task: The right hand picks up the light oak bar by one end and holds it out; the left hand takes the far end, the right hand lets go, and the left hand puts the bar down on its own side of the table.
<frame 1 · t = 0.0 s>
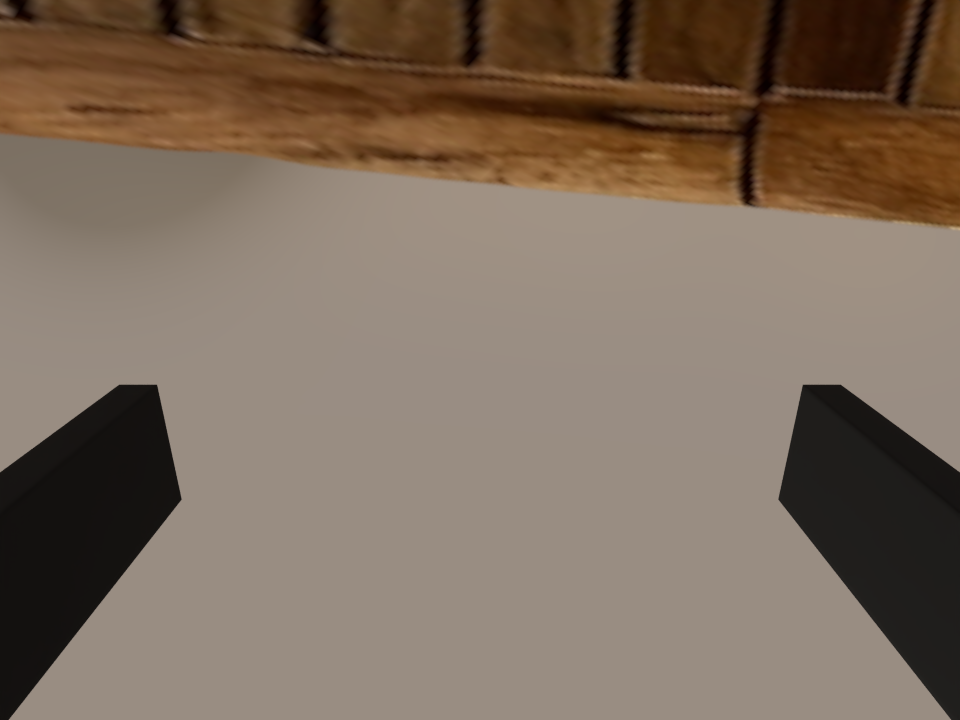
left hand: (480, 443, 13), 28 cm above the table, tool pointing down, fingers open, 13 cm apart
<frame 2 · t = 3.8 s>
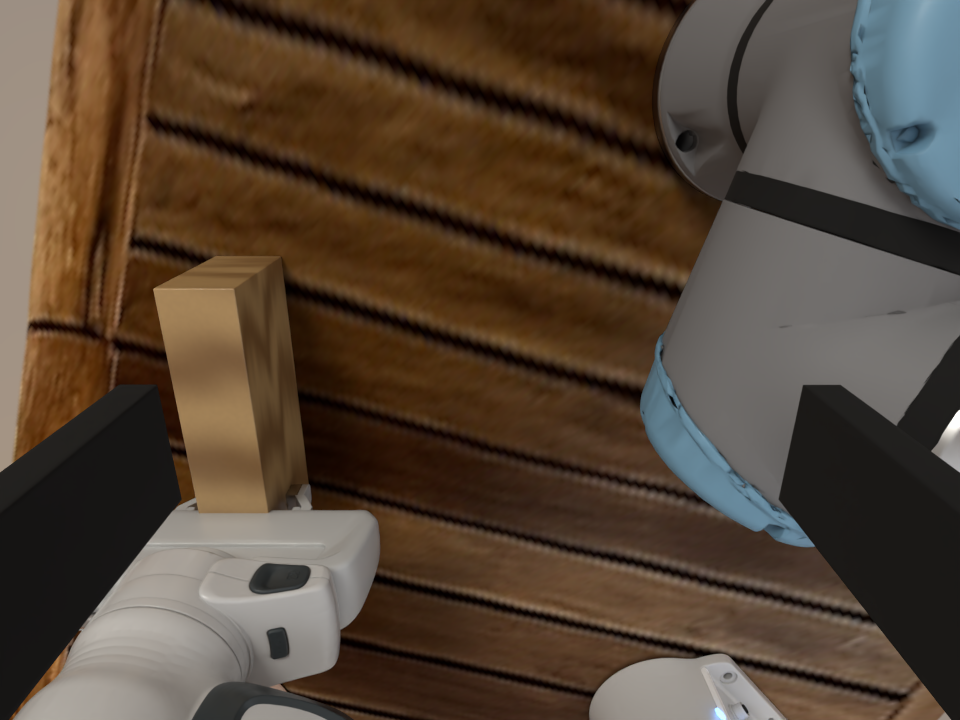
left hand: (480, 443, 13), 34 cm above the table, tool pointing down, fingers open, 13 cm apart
bar: (267, 391, 49), on the table, touching right hand
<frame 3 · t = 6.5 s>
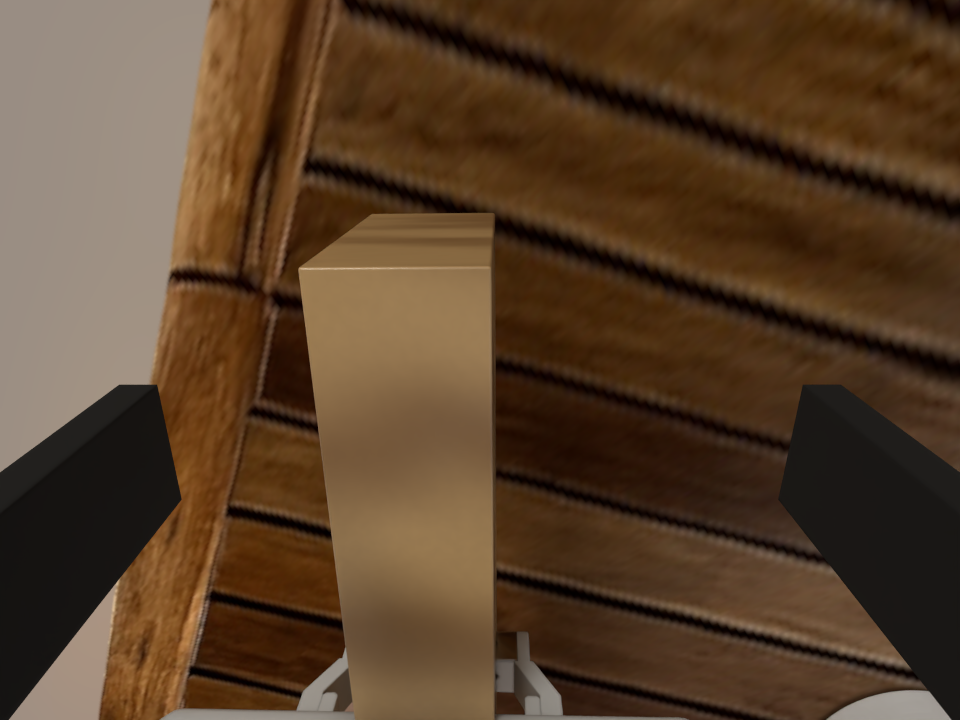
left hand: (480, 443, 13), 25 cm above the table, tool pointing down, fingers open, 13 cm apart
bar: (442, 459, 28), point 12 cm above the table, touching right hand
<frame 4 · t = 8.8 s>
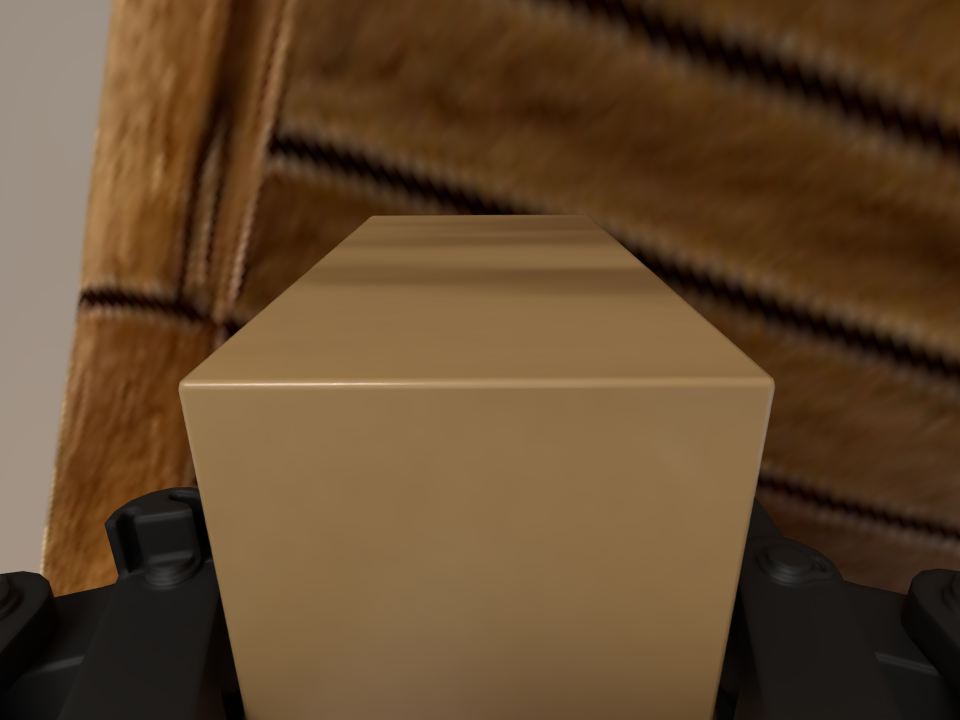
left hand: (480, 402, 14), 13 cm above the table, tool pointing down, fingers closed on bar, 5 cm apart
bar: (481, 604, 18), point 12 cm above the table, touching left hand, right hand
when the right hand's fingers open (16 cm above the table, at t = 9.6 s): bar stays where it is, held by the left hand.
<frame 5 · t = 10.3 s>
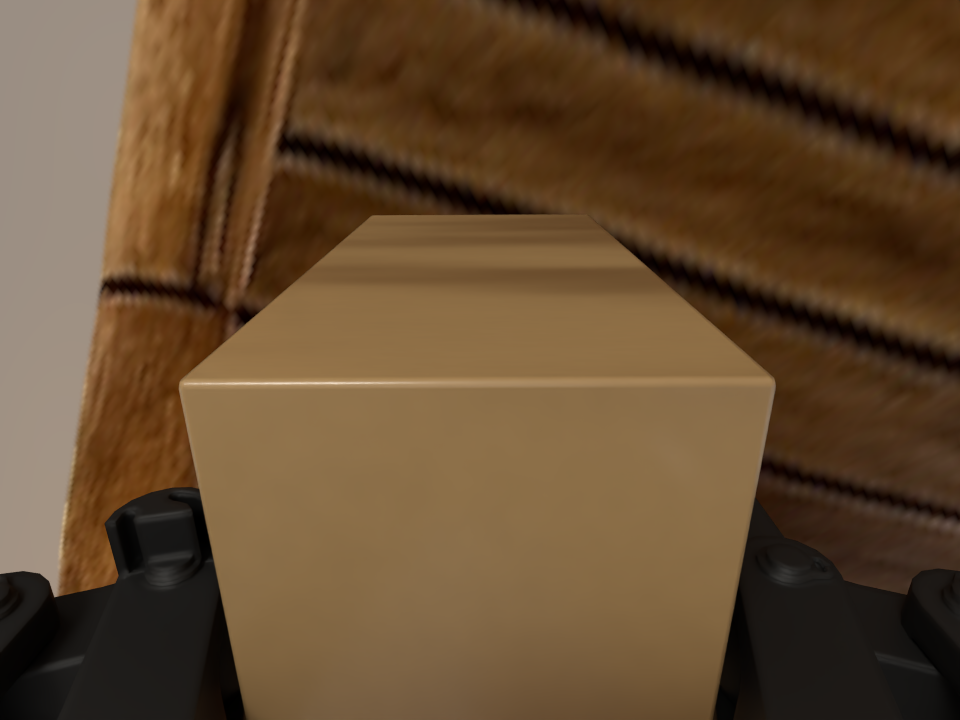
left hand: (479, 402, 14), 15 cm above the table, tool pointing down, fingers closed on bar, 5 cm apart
bar: (481, 603, 18), point 15 cm above the table, touching left hand
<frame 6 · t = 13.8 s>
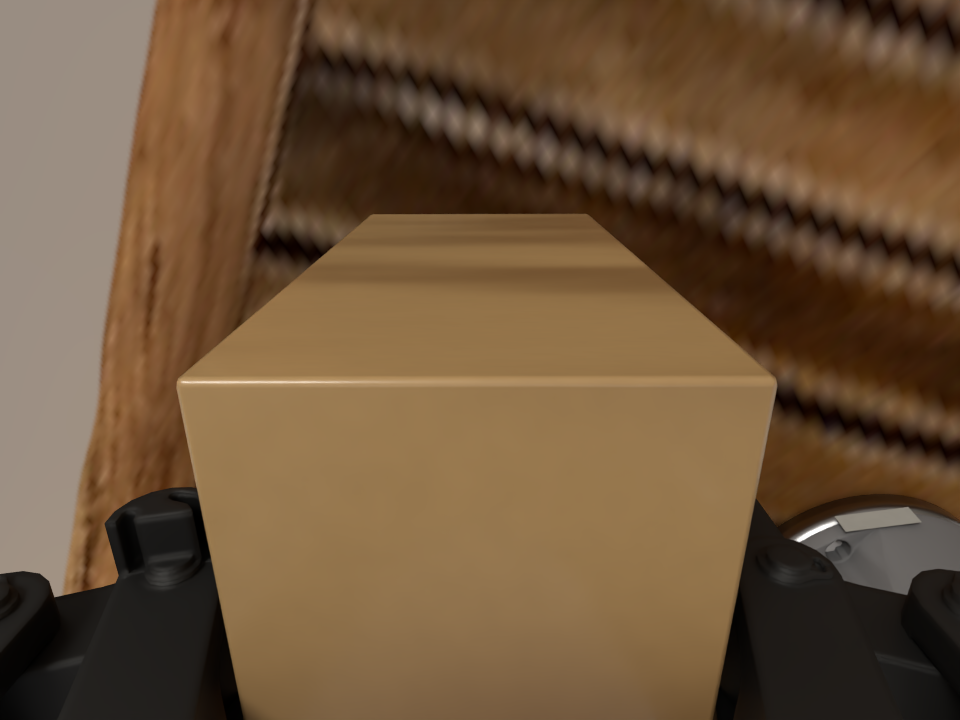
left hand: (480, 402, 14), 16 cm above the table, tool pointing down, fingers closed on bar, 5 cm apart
bar: (480, 604, 18), point 16 cm above the table, touching left hand
when the left hand's fingers open (2 cm above the table, at t = 18.9 s): bar drops 1 cm, on the table.
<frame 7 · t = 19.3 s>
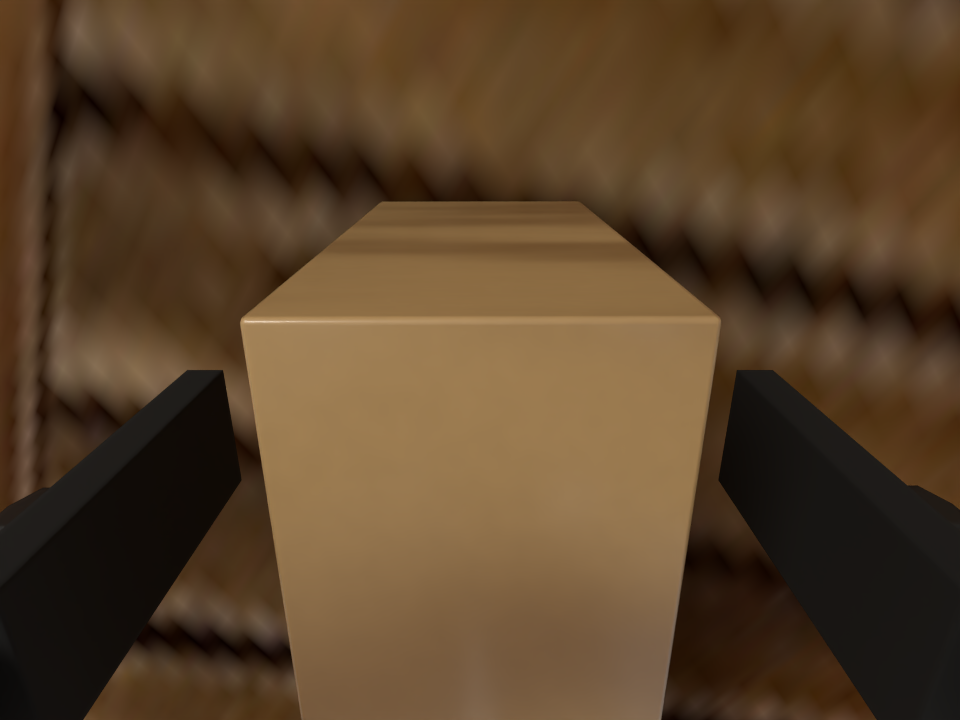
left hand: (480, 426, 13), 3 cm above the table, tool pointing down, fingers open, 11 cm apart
bar: (480, 568, 19), on the table
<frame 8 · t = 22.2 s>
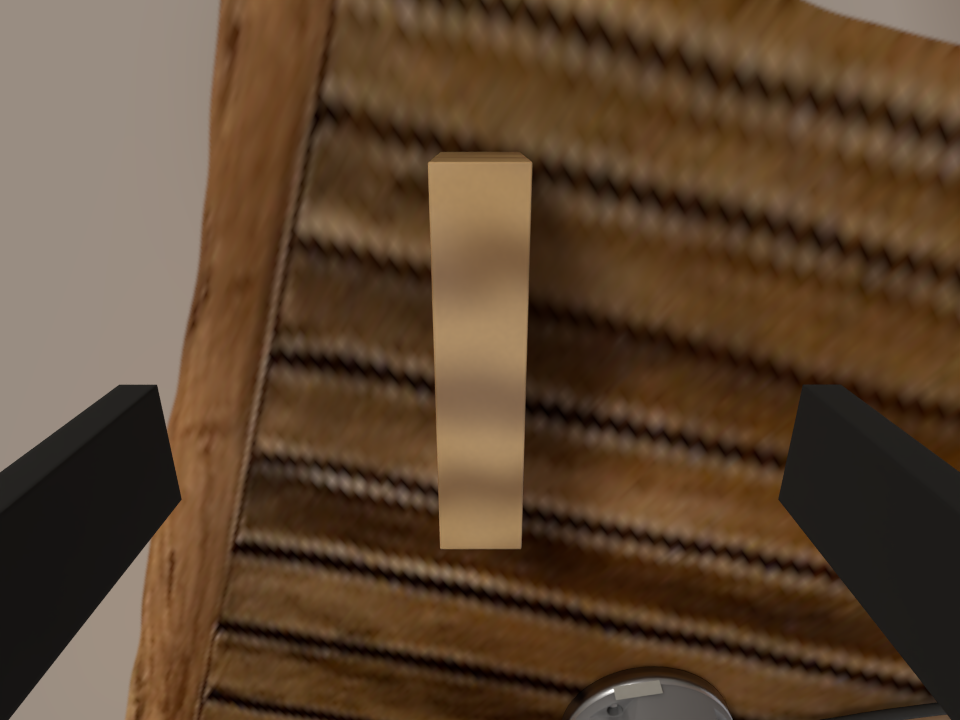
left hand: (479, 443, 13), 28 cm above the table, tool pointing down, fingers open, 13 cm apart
bar: (480, 325, 41), on the table
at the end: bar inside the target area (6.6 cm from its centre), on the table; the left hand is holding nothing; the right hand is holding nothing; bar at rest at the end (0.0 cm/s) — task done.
